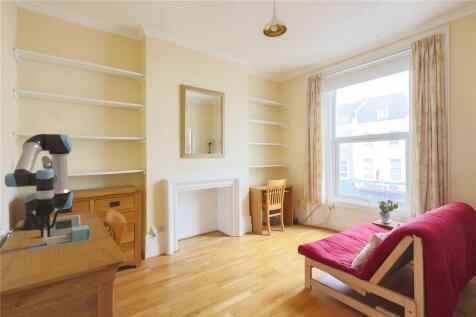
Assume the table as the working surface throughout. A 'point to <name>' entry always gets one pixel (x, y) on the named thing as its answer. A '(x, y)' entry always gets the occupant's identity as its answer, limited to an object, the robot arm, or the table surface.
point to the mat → (44, 245)
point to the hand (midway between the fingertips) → (45, 241)
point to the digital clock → (64, 225)
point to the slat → (59, 239)
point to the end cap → (80, 233)
